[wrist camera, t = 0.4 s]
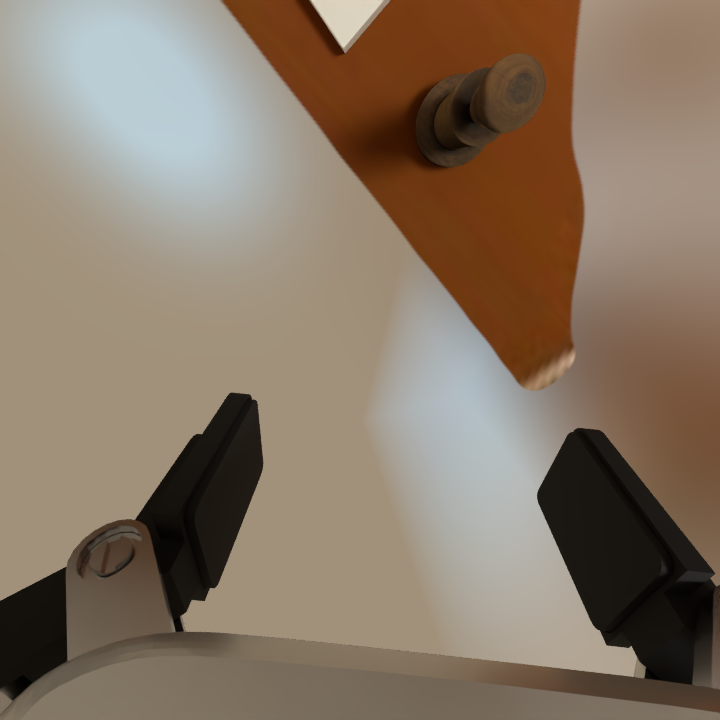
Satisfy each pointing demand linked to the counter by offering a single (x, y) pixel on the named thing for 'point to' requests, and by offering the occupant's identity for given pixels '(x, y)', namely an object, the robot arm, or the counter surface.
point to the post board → (348, 17)
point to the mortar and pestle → (478, 109)
